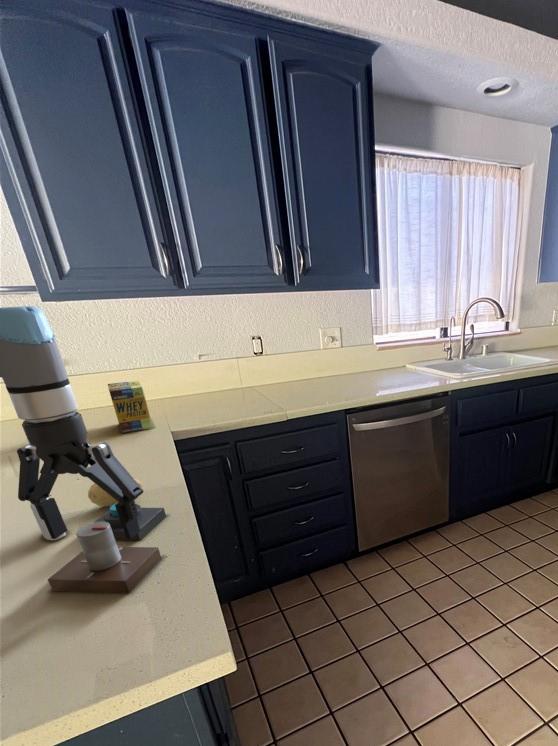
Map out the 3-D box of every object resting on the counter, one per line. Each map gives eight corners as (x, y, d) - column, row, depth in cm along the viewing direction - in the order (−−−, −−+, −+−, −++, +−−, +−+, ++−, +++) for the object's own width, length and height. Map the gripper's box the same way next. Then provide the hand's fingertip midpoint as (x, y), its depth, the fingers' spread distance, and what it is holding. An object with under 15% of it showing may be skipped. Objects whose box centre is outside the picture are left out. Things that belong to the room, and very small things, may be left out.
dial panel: (52, 591, 73) (46, 578, 72) (92, 557, 82) (88, 545, 81) (129, 592, 72) (125, 580, 71) (161, 558, 81) (158, 546, 80)
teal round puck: (107, 517, 89) (105, 510, 88) (119, 508, 93) (117, 501, 92) (125, 517, 89) (123, 510, 88) (137, 508, 92) (135, 501, 92)
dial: (82, 570, 74) (68, 534, 71) (101, 553, 79) (88, 519, 76) (109, 571, 74) (96, 535, 71) (127, 554, 78) (115, 519, 75)
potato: (97, 501, 104) (88, 478, 101) (147, 493, 108) (140, 470, 105) (90, 514, 98) (81, 489, 96) (144, 504, 102) (136, 480, 99)
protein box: (121, 433, 153) (108, 391, 147) (119, 423, 165) (107, 383, 159) (153, 428, 158) (142, 386, 152) (149, 418, 170) (138, 379, 164)
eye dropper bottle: (68, 526, 93) (48, 477, 88) (65, 538, 89) (44, 487, 84) (44, 532, 92) (22, 481, 87) (40, 544, 87) (16, 492, 82)
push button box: (85, 539, 88) (78, 523, 87) (116, 515, 97) (110, 500, 96) (140, 540, 87) (134, 523, 86) (166, 516, 96) (161, 500, 95)
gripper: (142, 407, 67) (176, 523, 76) (-3, 410, 69) (46, 523, 78) (112, 421, 60) (152, 547, 69) (-48, 424, 63) (11, 546, 71)
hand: (96, 534), depth 74 cm, fingers open, 13 cm apart
